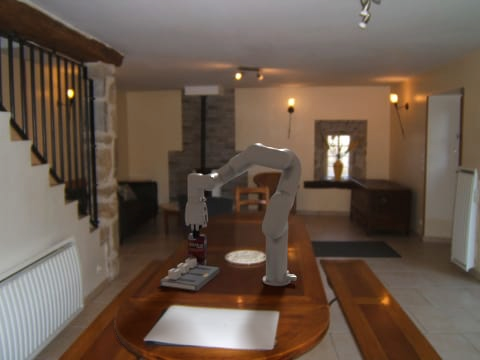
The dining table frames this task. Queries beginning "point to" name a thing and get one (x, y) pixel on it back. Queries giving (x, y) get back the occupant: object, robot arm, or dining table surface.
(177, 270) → the switch
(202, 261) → the supplement box
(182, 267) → the switch
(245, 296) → the dining table surface
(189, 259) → the switch
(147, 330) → the dining table surface
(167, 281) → the switch unit
